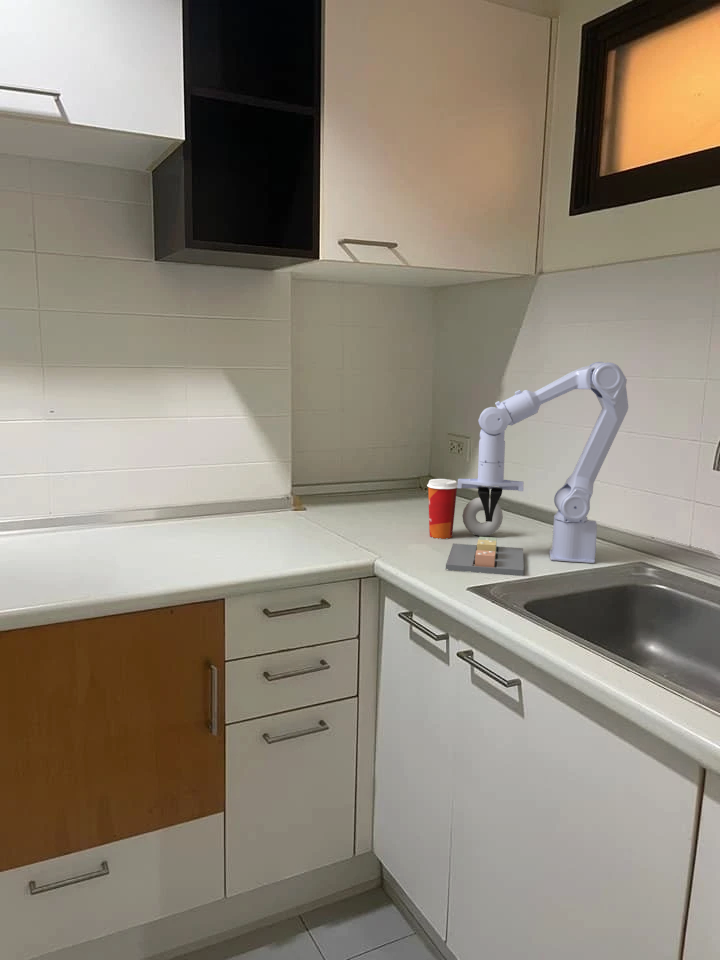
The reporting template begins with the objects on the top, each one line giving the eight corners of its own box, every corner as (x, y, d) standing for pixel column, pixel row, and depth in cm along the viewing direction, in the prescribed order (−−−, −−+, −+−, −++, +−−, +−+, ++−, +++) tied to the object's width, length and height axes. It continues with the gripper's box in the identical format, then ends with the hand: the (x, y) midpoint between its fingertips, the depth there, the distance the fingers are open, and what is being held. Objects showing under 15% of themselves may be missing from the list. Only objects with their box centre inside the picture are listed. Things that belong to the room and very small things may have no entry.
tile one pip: (496, 551, 172) (496, 537, 171) (495, 555, 168) (496, 541, 167) (478, 550, 173) (479, 536, 172) (477, 554, 169) (478, 540, 168)
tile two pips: (495, 554, 166) (496, 540, 165) (495, 559, 162) (495, 544, 161) (477, 553, 167) (478, 539, 166) (476, 558, 163) (477, 543, 162)
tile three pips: (494, 565, 160) (495, 550, 160) (493, 570, 156) (494, 555, 156) (475, 564, 161) (476, 549, 160) (474, 569, 157) (475, 554, 157)
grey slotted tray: (522, 553, 172) (523, 548, 171) (523, 575, 154) (523, 570, 154) (452, 548, 175) (453, 543, 175) (445, 570, 157) (445, 564, 157)
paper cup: (438, 531, 192) (439, 477, 189) (462, 536, 186) (464, 481, 184) (418, 536, 186) (420, 480, 184) (443, 541, 181) (445, 484, 178)
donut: (461, 536, 186) (463, 497, 184) (461, 533, 189) (462, 494, 188) (502, 538, 185) (504, 499, 183) (501, 535, 188) (503, 496, 187)
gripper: (524, 460, 169) (521, 518, 171) (460, 457, 172) (458, 515, 174) (524, 464, 162) (521, 525, 164) (457, 461, 165) (455, 521, 167)
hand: (488, 520), depth 169 cm, fingers closed
